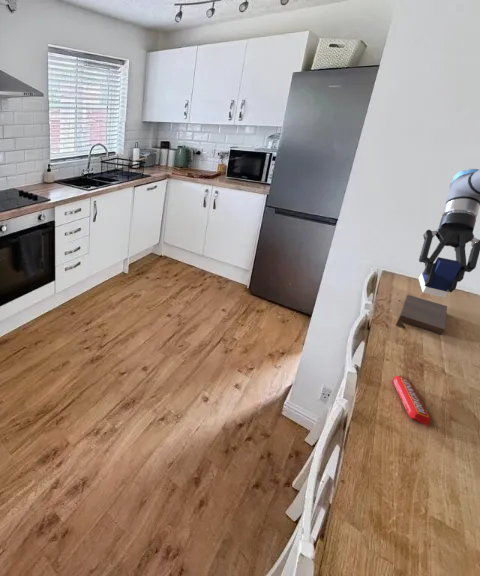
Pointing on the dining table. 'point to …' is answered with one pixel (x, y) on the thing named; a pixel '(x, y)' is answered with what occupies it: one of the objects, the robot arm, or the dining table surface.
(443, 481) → the dining table surface
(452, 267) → the two-tone navy white block
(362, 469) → the dining table surface
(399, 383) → the candy bar
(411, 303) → the shoe shelf
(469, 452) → the dining table surface
